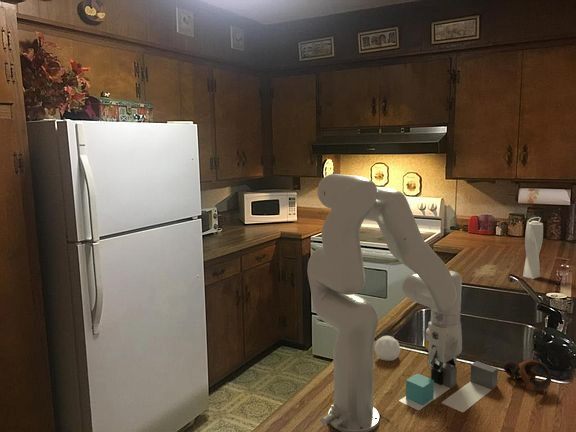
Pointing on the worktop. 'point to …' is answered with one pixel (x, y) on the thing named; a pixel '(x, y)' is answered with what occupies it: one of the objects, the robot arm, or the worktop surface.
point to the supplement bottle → (427, 335)
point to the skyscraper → (533, 248)
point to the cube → (419, 389)
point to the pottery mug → (528, 373)
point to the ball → (387, 348)
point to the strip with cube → (437, 385)
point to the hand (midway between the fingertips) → (443, 378)
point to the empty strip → (474, 387)
